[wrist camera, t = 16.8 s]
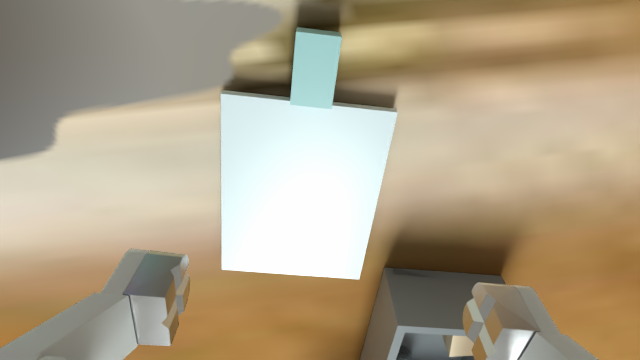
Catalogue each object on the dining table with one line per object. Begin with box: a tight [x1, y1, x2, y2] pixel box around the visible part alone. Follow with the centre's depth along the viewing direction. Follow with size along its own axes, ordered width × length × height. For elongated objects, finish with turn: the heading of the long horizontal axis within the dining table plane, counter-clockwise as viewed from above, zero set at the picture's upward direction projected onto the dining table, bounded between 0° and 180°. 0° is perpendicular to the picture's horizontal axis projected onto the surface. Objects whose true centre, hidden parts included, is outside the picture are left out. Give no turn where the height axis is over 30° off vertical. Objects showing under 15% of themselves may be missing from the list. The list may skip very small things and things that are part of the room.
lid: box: [221, 27, 398, 279], centre depth 33 cm, size 13×22×2 cm, turn 173°
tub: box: [360, 267, 506, 360], centre depth 41 cm, size 12×16×7 cm
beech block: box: [442, 335, 474, 357], centre depth 40 cm, size 4×4×4 cm
